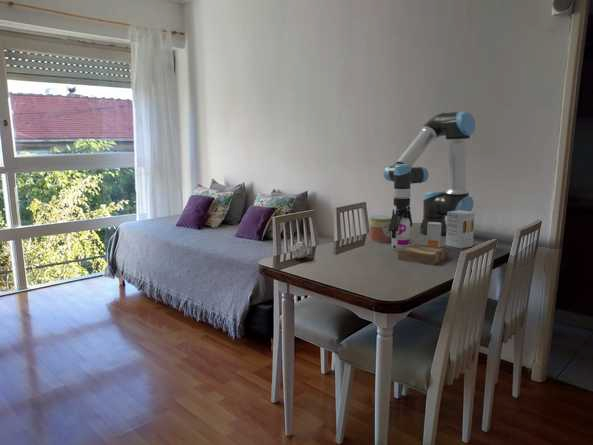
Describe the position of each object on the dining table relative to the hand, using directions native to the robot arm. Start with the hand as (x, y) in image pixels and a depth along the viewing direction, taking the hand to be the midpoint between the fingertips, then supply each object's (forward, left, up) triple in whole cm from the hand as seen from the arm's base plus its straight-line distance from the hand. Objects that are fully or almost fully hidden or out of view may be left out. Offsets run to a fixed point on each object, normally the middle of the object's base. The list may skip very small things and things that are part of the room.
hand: (400, 242), depth 215 cm
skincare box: (-13, +11, -4) cm, 17 cm away
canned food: (-13, -18, -4) cm, 23 cm away
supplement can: (0, 0, -4) cm, 4 cm away
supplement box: (-23, +20, -4) cm, 31 cm away
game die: (+41, -29, -4) cm, 50 cm away
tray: (+9, +15, -3) cm, 18 cm away
